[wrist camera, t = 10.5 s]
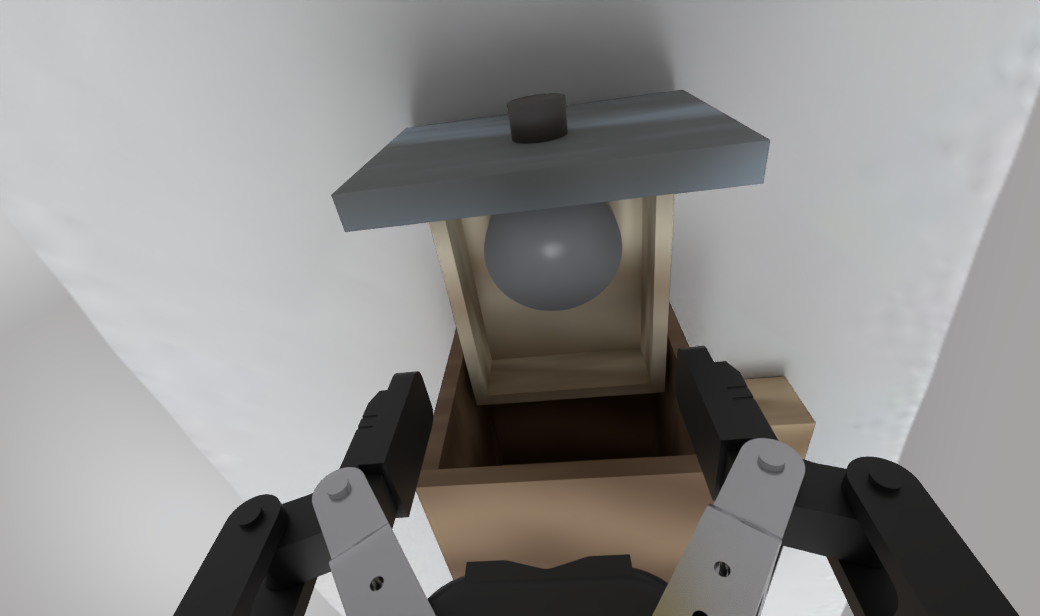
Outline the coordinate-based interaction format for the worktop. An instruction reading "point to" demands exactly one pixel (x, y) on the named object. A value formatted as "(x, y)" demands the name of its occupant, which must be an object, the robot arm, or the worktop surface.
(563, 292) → the disc
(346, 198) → the drawer
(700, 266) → the worktop surface
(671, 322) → the housing
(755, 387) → the wooden block
